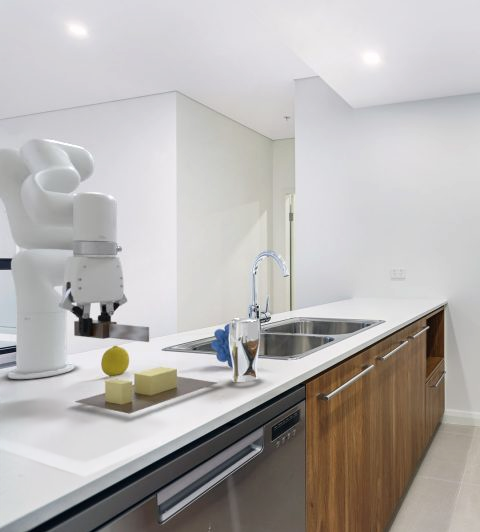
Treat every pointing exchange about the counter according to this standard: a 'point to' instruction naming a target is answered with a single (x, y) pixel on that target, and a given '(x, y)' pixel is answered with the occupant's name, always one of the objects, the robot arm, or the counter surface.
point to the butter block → (155, 380)
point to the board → (148, 396)
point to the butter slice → (118, 391)
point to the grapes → (222, 345)
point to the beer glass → (244, 348)
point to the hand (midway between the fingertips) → (95, 334)
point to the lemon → (115, 361)
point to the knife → (115, 331)
